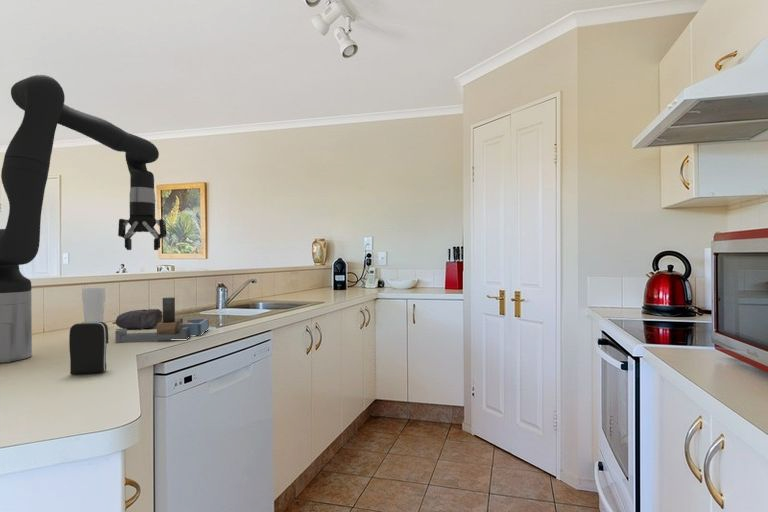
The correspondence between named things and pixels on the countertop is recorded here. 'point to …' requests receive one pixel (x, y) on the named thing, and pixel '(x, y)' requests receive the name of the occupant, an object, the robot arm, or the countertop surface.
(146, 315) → the perforated stone tool
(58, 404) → the countertop surface
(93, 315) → the drinking glass
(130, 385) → the countertop surface
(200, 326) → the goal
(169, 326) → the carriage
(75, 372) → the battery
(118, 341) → the rail
